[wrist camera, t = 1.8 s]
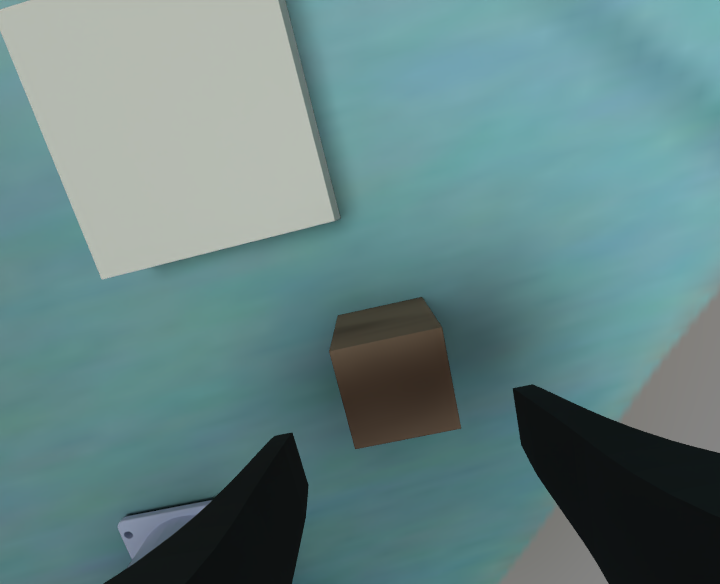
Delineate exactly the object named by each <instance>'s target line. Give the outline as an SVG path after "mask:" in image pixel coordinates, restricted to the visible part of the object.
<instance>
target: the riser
mask: <svg viewBox="0 0 720 584" xmlns="http://www.w3.org/2000/svg"><path fill="white" fill-rule="evenodd" d="M0 31H1V34H2V36H3V38H4V41H5V43H6V46H7V48H8V51H9V53H10V56H11V58H12V60H13V63H14V65H15V68H16V70H17V73H18V75H19V78H20V80H21V83H22V85H23V87H24V90H25V92H26V95H27V97H28V100H29V102H30V105H31V107H32V109H33V112H34V114H35V117H36V119H37V122H38V124H39V127H40V129H41V132H42V134H43V136H44V139H45V141H46V144H47V146H48V149H49V151H50V154H51V156H52V158H53V161H54V163H55V166H56V168H57V171H58V173H59V176H60V178H61V181H62V183H63V185H64V188H65V190H66V193H67V195H68V198H69V200H70V203H71V205H72V207H73V210H74V212H75V215H76V217H77V220H78V222H79V225H80V227H81V230H82V232H83V234H84V237H85V239H86V242H87V244H88V247H89V249H90V252H91V254H92V256H93V259H94V261H95V264H96V266H97V269H98V271H99V274H100V276H101V278H102V279H106V278H110V277H114V276H118V275H122V274H126V273H130V272H134V271H138V270H142V269H146V268H150V267H154V266H158V265H162V264H166V263H169V262H173V261H177V260H181V259H185V258H189V257H193V256H197V255H201V254H205V253H209V252H213V251H217V250H221V249H225V248H229V247H233V246H237V245H241V244H245V243H249V242H253V241H257V240H261V239H265V238H269V237H273V236H277V235H281V234H285V233H289V232H293V231H297V230H300V229H304V228H308V227H312V226H316V225H320V224H324V223H328V222H332V221H336V220H338V219H341V218H340V214H339V210H338V206H337V202H336V198H335V195H334V191H333V187H332V183H331V179H330V175H329V171H328V167H327V163H326V159H325V155H324V151H323V147H322V143H321V139H320V135H319V131H318V127H317V123H316V119H315V116H314V112H313V108H312V104H311V100H310V96H309V92H308V88H307V84H306V80H305V76H304V72H303V68H302V64H301V60H300V56H299V52H298V48H297V44H296V40H295V37H294V33H293V29H292V25H291V21H290V17H289V13H288V9H287V5H286V1H285V0H30V1H26V2H23V3H20V4H17V5H13V6H10V7H7V8H4V9H0Z"/></svg>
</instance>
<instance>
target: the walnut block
mask: <svg viewBox="0 0 720 584" xmlns="http://www.w3.org/2000/svg"><path fill="white" fill-rule="evenodd" d="M329 352H330V356H331V360H332V364H333V368H334V371H335V375H336V379H337V383H338V386H339V390H340V394H341V398H342V401H343V405H344V409H345V413H346V417H347V420H348V424H349V428H350V432H351V435H352V439H353V443H354V447H355V449H359V448H364V447H369V446H374V445H379V444H384V443H390V442H395V441H400V440H405V439H410V438H415V437H420V436H425V435H430V434H435V433H440V432H446V431H451V430H456V429H461V425H460V420H459V414H458V409H457V404H456V398H455V393H454V388H453V383H452V377H451V372H450V367H449V361H448V356H447V351H446V346H445V340H444V335H443V330H442V326H441V325H440V323H439V322H438V320H437V319H436V317H435V316H434V314H433V313H432V311H431V310H430V308H429V307H428V305H427V304H426V302H425V301H424V299H423V298H422V297H420V298H415V299H411V300H406V301H401V302H397V303H392V304H388V305H383V306H379V307H374V308H370V309H365V310H360V311H356V312H351V313H347V314H342V315H338V317H337V321H336V325H335V329H334V333H333V338H332V342H331V346H330V350H329Z"/></svg>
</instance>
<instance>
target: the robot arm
mask: <svg viewBox="0 0 720 584" xmlns="http://www.w3.org/2000/svg"><path fill="white" fill-rule="evenodd" d="M513 394H514V400H515V407H516V414H517V420H518V427H519V434H520V440H521V445H522V447H523V449H524V451H525V453H526V455H527V457H528V459H529V461H530V463H531V465H532V466H533V468H534V470H535V472H536V474H537V475H538V477H539V478H540V480H541V481H542V483H543V484H544V486H545V487H546V489H547V490H548V492H549V493H550V495H551V496H552V497H553V499H554V500H555V502H556V503H557V505H558V506H559V508H560V509H561V510H562V512H563V513H564V515H565V516H566V518H567V519H568V520H569V522H570V523H571V525H572V526H573V528H574V529H575V530H576V532H577V533H578V535H579V536H580V538H581V539H582V540H583V542H584V543H585V545H586V547H587V548H588V549H589V551H590V553H591V554H592V556H593V558H594V559H595V561H596V562H597V564H598V566H599V567H600V569H601V571H602V573H603V574H604V576H605V578H606V580H607V581H608V583H609V584H720V453H717V452H713V451H709V450H705V449H701V448H697V447H693V446H689V445H686V444H682V443H679V442H675V441H671V440H668V439H665V438H662V437H659V436H656V435H653V434H650V433H647V432H643V431H641V430H638V429H635V428H632V427H629V426H627V425H624V424H622V423H619V422H616V421H614V420H611V419H609V418H606V417H604V416H601V415H599V414H597V413H594V412H592V411H590V410H587V409H585V408H583V407H581V406H578V405H576V404H574V403H572V402H570V401H568V400H565V399H563V398H561V397H559V396H557V395H555V394H553V393H551V392H548V391H546V390H544V389H542V388H540V387H537V386H535V385H527V386H522V387H517V388H513ZM307 497H308V482H307V479H306V476H305V472H304V469H303V466H302V463H301V459H300V456H299V453H298V449H297V446H296V443H295V440H294V436H293V433H287V434H282V435H277V436H274V437H273V438H272V439H271V440H270V441H269V442H268V443H267V444H266V445H265V446H264V447H263V448H262V449H261V450H260V451H259V452H258V453H257V455H256V456H255V457H254V458H253V459H252V460H251V461H250V462H249V463H248V464H247V465H246V466H245V467H244V469H243V470H242V471H241V472H240V473H239V474H238V475H237V476H236V477H235V478H234V479H233V480H232V481H231V482H230V483H229V484H228V485H227V486H226V487H225V488H224V489H223V490H222V491H221V492H220V493H219V494H218V495H217V496H216V497H215V498H214V499H213V500H209V501H204V502H199V503H194V504H188V505H183V506H178V507H173V508H168V509H162V510H157V511H152V512H147V513H142V514H137V515H131V516H126V517H124V518H123V519H122V520H121V521H120V522H119V524H118V530H119V532H120V534H121V537H122V539H123V541H124V543H125V545H126V548H127V550H128V552H129V554H130V556H131V559H132V561H131V562H130V564H129V566H128V567H127V569H125V570H124V571H122V572H121V573H119V574H118V575H116V576H115V577H113V578H112V579H110V580H108V581H107V582H105V583H104V584H292V580H293V575H294V571H295V566H296V561H297V557H298V552H299V547H300V543H301V538H302V533H303V528H304V523H305V518H306V509H307Z"/></svg>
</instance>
